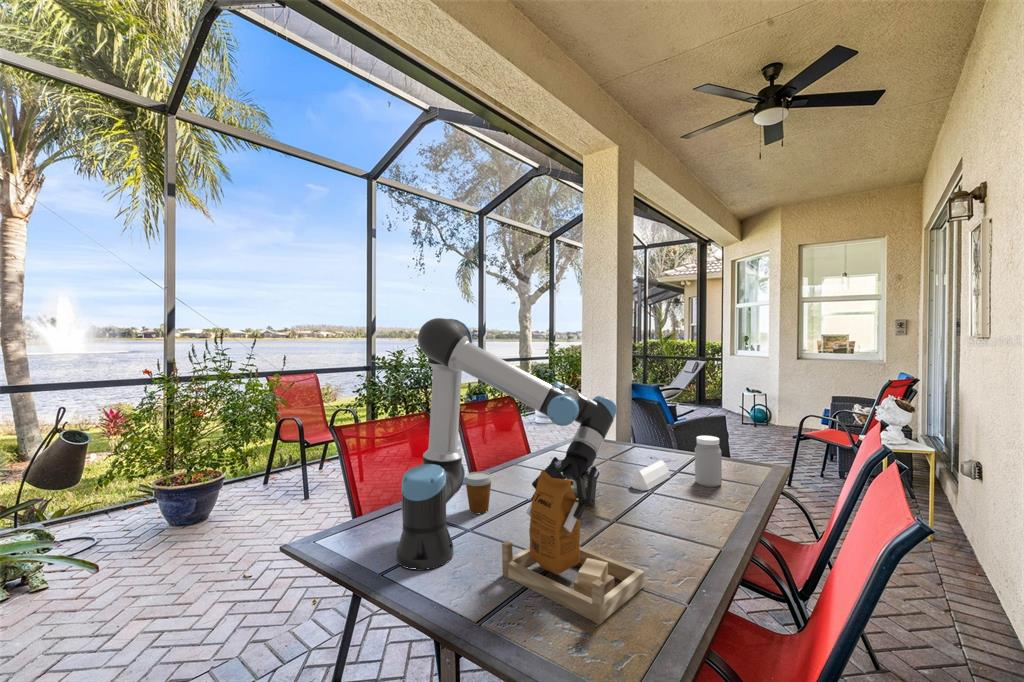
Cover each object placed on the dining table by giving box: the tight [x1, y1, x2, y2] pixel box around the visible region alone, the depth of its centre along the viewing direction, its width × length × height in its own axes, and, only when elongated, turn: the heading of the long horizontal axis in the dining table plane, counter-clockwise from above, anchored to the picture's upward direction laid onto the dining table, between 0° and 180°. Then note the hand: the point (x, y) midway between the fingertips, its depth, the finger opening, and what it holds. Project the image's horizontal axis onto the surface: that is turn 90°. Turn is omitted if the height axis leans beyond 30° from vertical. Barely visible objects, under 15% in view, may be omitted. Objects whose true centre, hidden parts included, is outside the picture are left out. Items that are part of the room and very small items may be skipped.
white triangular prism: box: [630, 459, 671, 491], centre depth 180 cm, size 7×7×24 cm
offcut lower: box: [573, 575, 616, 598], centre depth 105 cm, size 8×6×3 cm
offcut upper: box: [577, 558, 608, 588], centre depth 105 cm, size 7×5×3 cm
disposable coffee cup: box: [464, 471, 493, 514], centre depth 154 cm, size 10×10×12 cm
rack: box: [501, 540, 646, 625], centre depth 109 cm, size 19×28×8 cm
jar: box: [694, 435, 723, 488], centre depth 177 cm, size 10×10×18 cm
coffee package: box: [528, 469, 581, 575], centre depth 113 cm, size 10×12×22 cm
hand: (547, 522), depth 111 cm, fingers closed on coffee package, 11 cm apart
